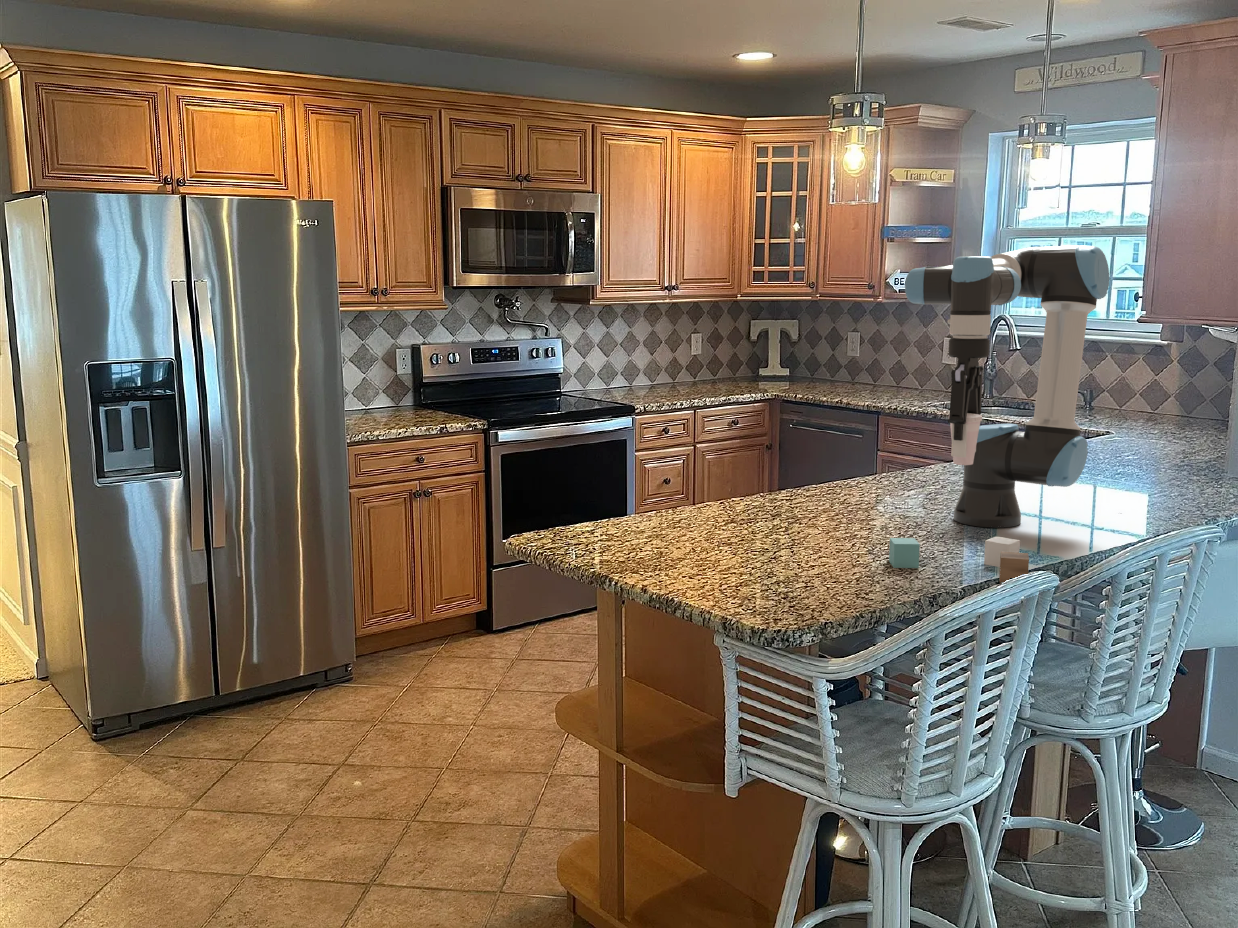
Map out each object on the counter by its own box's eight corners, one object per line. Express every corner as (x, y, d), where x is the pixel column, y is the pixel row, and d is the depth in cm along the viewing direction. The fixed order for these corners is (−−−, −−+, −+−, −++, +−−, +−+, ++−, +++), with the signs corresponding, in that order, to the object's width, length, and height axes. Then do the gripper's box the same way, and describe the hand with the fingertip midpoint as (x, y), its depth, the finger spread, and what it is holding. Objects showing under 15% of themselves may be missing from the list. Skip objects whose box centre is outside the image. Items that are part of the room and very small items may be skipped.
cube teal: (888, 561, 220) (889, 537, 219) (913, 561, 220) (914, 538, 219) (893, 568, 215) (894, 543, 214) (918, 568, 215) (919, 544, 214)
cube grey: (994, 559, 221) (996, 536, 220) (1018, 564, 218) (1020, 540, 217) (984, 564, 218) (985, 540, 217) (1007, 568, 214) (1009, 544, 213)
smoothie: (941, 464, 212) (944, 393, 210) (953, 459, 217) (956, 390, 215) (973, 467, 209) (976, 395, 206) (984, 462, 214) (988, 392, 211)
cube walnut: (999, 576, 209) (1000, 551, 208) (1026, 578, 207) (1028, 553, 207) (999, 582, 204) (1001, 557, 203) (1027, 585, 203) (1029, 559, 202)
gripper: (964, 334, 219) (958, 446, 223) (934, 338, 203) (929, 459, 207) (1001, 335, 215) (995, 449, 218) (975, 339, 199) (969, 462, 203)
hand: (963, 453), depth 213 cm, fingers closed on smoothie, 6 cm apart
